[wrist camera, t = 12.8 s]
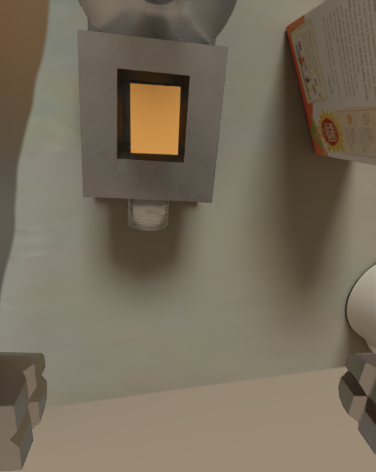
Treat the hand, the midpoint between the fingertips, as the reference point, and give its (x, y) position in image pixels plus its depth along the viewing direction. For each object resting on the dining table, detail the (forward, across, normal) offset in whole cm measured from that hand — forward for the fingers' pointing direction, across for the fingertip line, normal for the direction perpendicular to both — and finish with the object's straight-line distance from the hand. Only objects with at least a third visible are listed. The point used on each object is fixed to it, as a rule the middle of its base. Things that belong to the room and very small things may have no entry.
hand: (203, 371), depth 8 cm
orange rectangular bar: (+28, +2, -6) cm, 29 cm away
